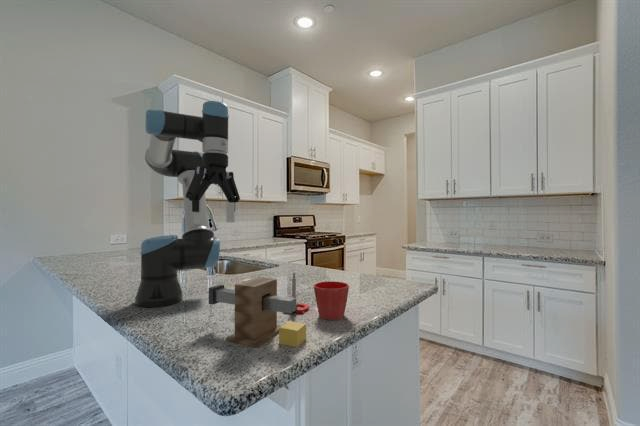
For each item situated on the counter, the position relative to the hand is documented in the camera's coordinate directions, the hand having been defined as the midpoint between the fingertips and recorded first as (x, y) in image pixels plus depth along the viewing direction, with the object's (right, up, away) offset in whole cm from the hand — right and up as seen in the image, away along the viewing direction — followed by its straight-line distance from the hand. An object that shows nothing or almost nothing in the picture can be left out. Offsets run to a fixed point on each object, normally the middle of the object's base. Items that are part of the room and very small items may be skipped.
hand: (215, 223), depth 94 cm
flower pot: (+36, -29, +1) cm, 46 cm away
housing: (+16, -29, -14) cm, 35 cm away
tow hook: (+24, -29, +7) cm, 39 cm away
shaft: (+14, -22, -13) cm, 29 cm away
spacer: (+25, -25, -18) cm, 40 cm away
